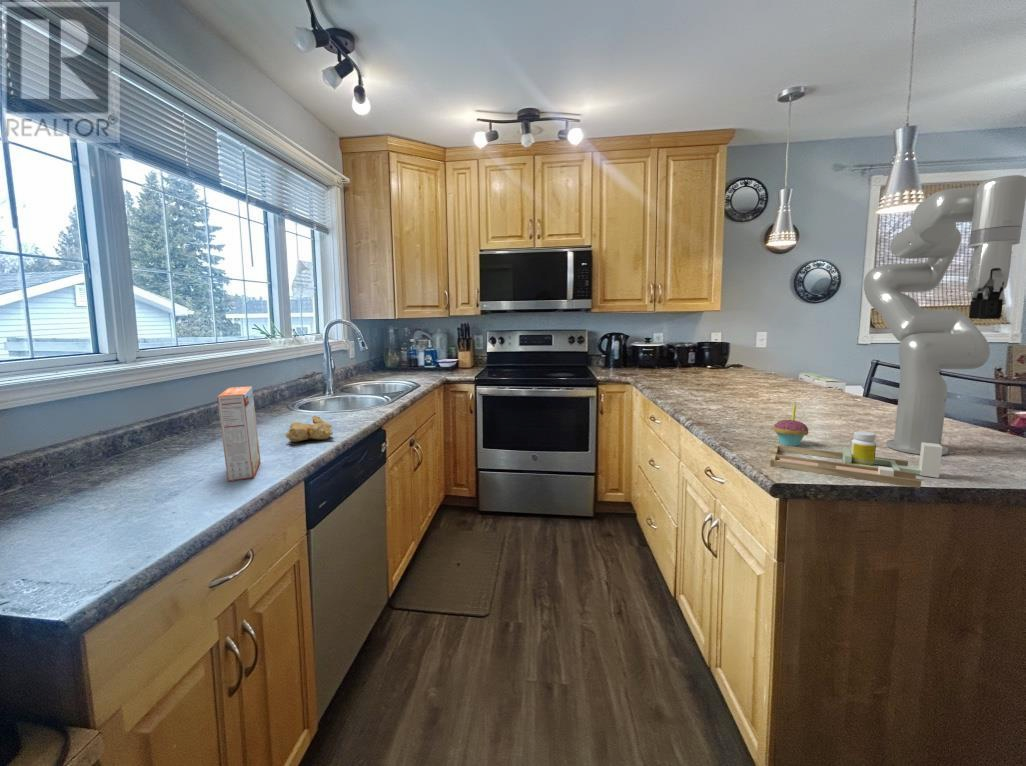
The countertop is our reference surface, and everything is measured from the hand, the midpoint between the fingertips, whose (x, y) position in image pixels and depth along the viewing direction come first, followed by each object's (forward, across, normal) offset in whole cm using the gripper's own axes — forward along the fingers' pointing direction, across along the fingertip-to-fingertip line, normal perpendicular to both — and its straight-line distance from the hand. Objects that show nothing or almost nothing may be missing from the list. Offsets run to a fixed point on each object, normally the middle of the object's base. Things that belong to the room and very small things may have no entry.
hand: (983, 318), depth 98 cm
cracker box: (+36, +96, -144) cm, 177 cm away
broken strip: (+35, +16, -24) cm, 46 cm away
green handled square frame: (+35, +7, -14) cm, 39 cm away
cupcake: (+36, -6, -35) cm, 50 cm away
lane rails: (+35, +11, -23) cm, 44 cm away
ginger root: (+36, +70, -160) cm, 178 cm away
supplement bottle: (+36, +8, -19) cm, 41 cm away
